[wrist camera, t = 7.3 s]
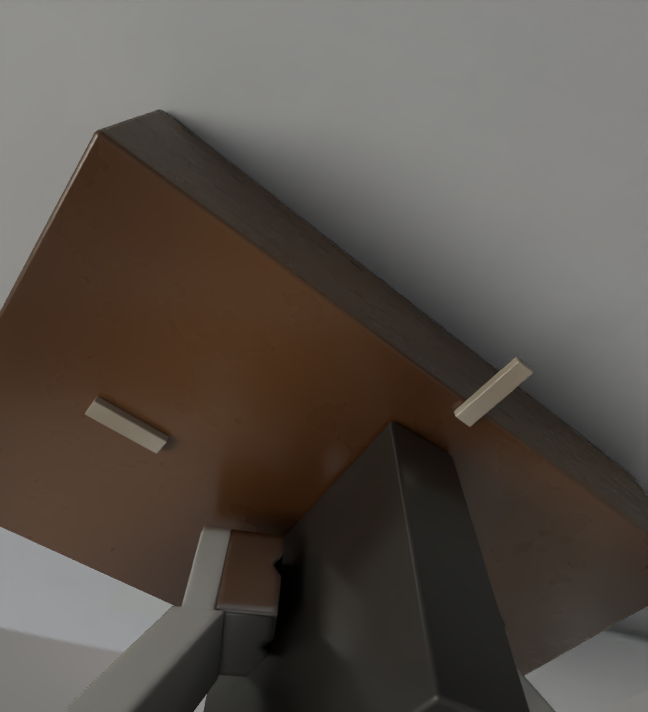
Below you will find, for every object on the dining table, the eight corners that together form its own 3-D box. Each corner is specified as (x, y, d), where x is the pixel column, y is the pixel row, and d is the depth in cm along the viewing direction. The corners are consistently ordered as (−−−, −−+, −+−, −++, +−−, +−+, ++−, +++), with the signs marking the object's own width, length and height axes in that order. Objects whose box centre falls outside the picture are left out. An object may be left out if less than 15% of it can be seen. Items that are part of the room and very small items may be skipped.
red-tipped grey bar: (391, 418, 9) (444, 725, 5) (453, 454, 9) (549, 766, 5) (223, 600, 12) (164, 904, 7) (278, 622, 12) (251, 922, 8)
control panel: (671, 450, 13) (760, 554, 10) (397, 638, 17) (410, 748, 15) (192, 51, 9) (130, 50, 6) (-23, 424, 13) (-117, 524, 10)
